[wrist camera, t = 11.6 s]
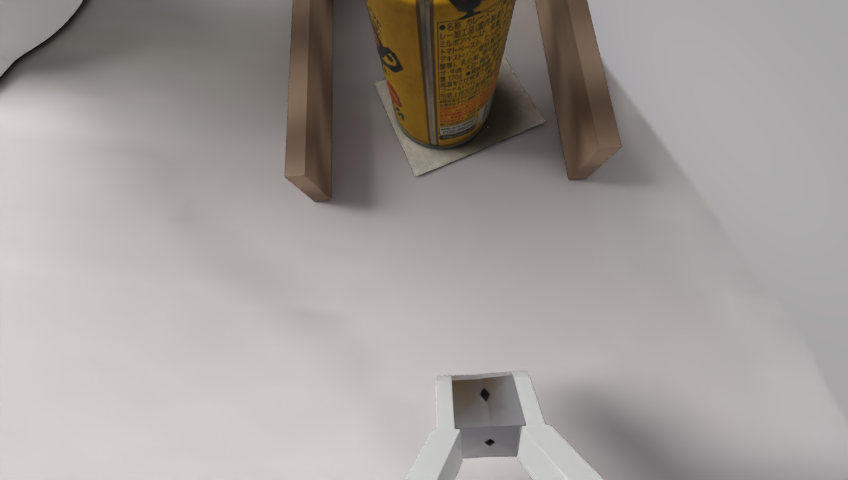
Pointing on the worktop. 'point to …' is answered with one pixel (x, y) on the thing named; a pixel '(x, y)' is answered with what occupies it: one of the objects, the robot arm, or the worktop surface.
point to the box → (567, 65)
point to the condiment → (448, 77)
